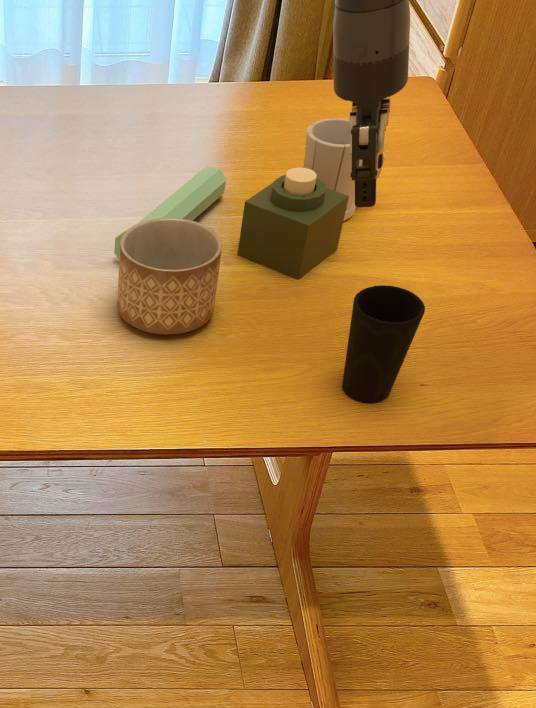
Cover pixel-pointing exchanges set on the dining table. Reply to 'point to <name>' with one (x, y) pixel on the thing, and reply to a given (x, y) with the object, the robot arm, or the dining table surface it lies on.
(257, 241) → the green push button box
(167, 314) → the planter
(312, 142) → the cup
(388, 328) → the cup
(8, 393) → the dining table surface
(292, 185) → the cream push button
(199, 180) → the pale green long bar
